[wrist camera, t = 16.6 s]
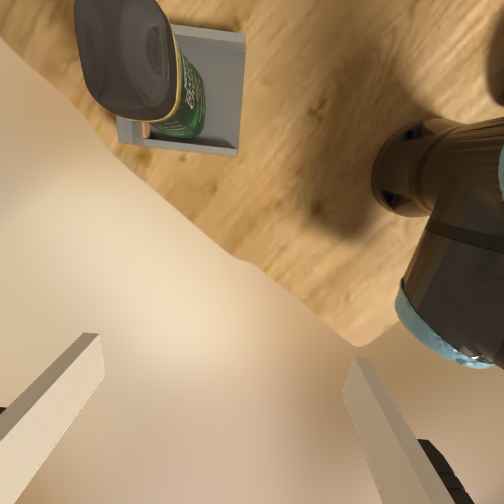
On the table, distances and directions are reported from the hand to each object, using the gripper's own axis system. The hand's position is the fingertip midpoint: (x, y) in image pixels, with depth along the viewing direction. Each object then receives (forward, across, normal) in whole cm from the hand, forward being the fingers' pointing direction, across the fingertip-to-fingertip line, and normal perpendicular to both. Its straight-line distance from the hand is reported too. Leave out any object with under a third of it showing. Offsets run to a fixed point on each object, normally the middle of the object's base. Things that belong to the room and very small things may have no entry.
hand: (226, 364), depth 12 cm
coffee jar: (+32, -12, +18) cm, 38 cm away
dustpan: (+33, -10, +18) cm, 39 cm away
